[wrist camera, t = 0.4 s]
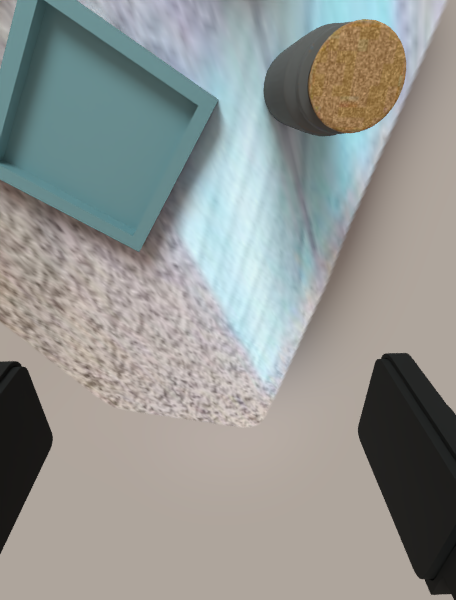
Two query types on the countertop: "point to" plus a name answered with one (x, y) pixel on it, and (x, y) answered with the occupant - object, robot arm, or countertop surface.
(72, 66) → the tray
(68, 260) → the countertop surface
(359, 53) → the bottle
